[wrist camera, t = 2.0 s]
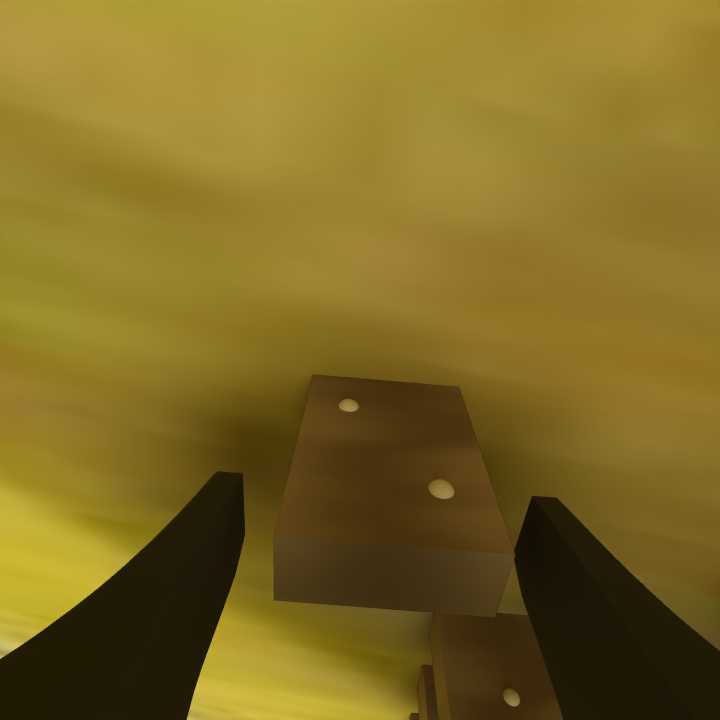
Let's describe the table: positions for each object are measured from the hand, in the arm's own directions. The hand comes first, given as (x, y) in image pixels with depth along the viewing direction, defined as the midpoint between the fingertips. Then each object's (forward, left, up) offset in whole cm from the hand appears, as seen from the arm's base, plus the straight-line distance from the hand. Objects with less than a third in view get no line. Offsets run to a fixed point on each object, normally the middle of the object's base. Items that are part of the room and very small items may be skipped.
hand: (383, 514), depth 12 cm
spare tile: (0, 0, -5) cm, 5 cm away
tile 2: (-6, +12, -5) cm, 14 cm away
